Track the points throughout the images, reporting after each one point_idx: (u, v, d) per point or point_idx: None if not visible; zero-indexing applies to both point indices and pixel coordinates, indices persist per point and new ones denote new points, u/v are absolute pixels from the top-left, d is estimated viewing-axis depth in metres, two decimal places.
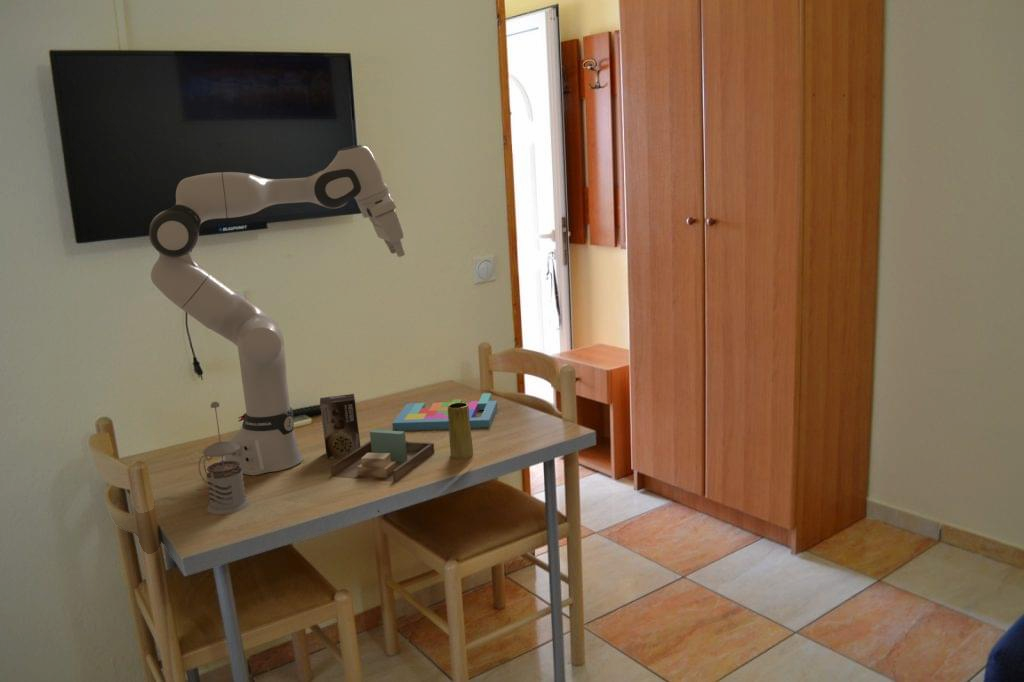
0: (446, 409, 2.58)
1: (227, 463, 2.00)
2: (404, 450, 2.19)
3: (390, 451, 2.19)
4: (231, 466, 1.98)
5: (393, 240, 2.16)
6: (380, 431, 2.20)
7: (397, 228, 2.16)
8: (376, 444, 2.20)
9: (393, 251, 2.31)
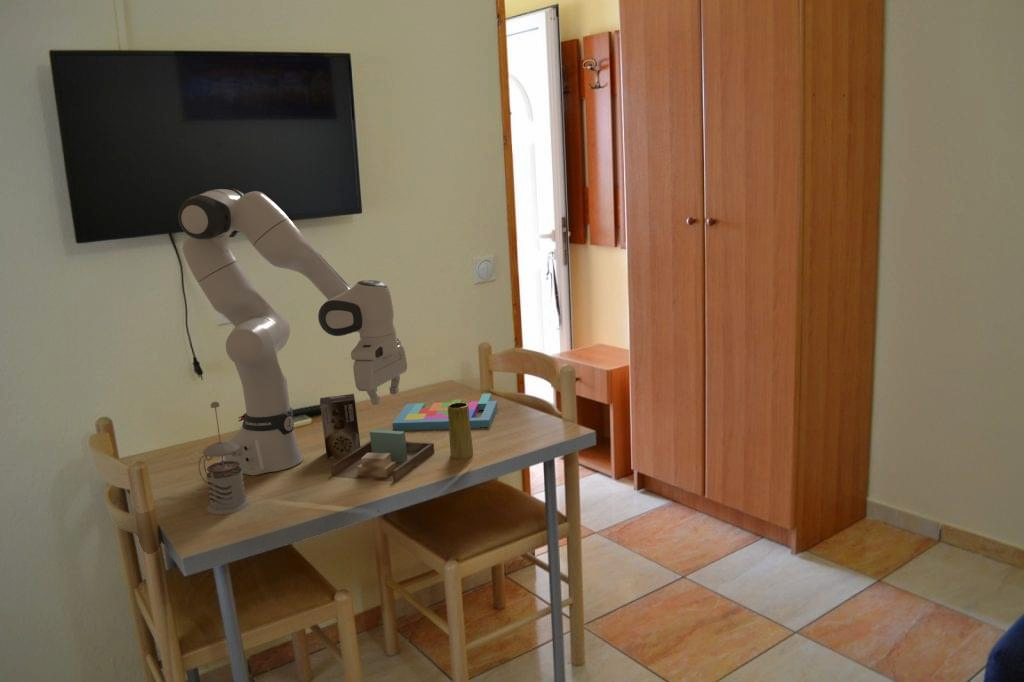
0: (446, 409, 2.58)
1: (227, 463, 2.00)
2: (404, 450, 2.19)
3: (390, 451, 2.19)
4: (231, 466, 1.98)
5: (359, 389, 2.08)
6: (380, 431, 2.20)
7: (365, 380, 2.07)
8: (376, 444, 2.20)
9: (392, 392, 2.21)
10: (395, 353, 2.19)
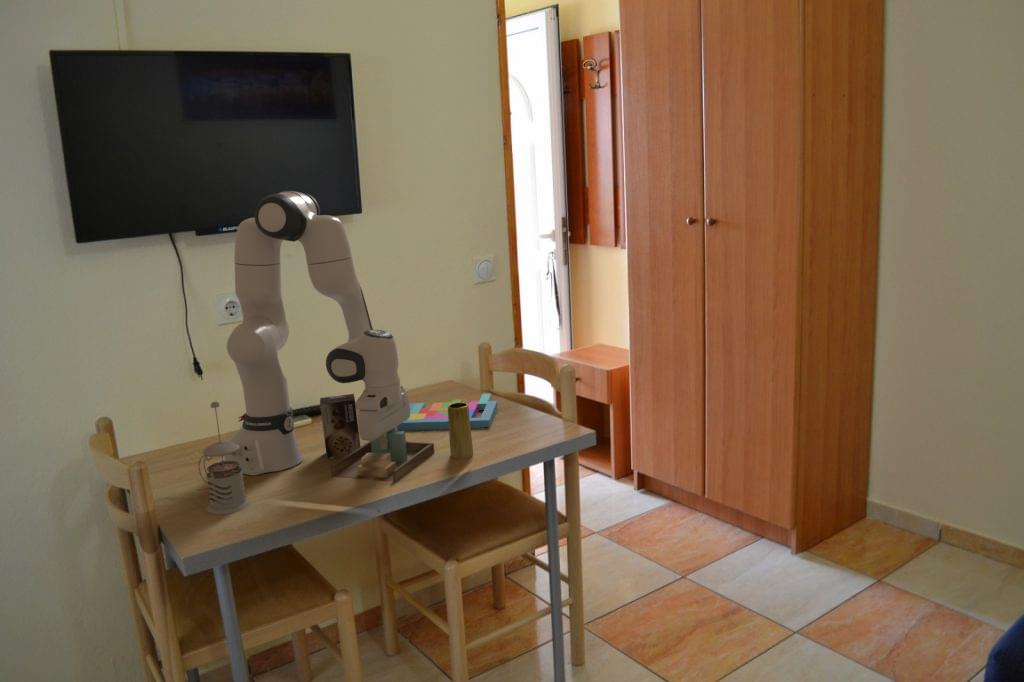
0: (446, 409, 2.58)
1: (227, 463, 2.00)
2: (404, 450, 2.19)
3: (390, 451, 2.19)
4: (231, 466, 1.98)
5: (363, 438, 2.11)
6: None
7: (369, 430, 2.09)
8: (376, 444, 2.20)
9: None
10: (399, 401, 2.21)
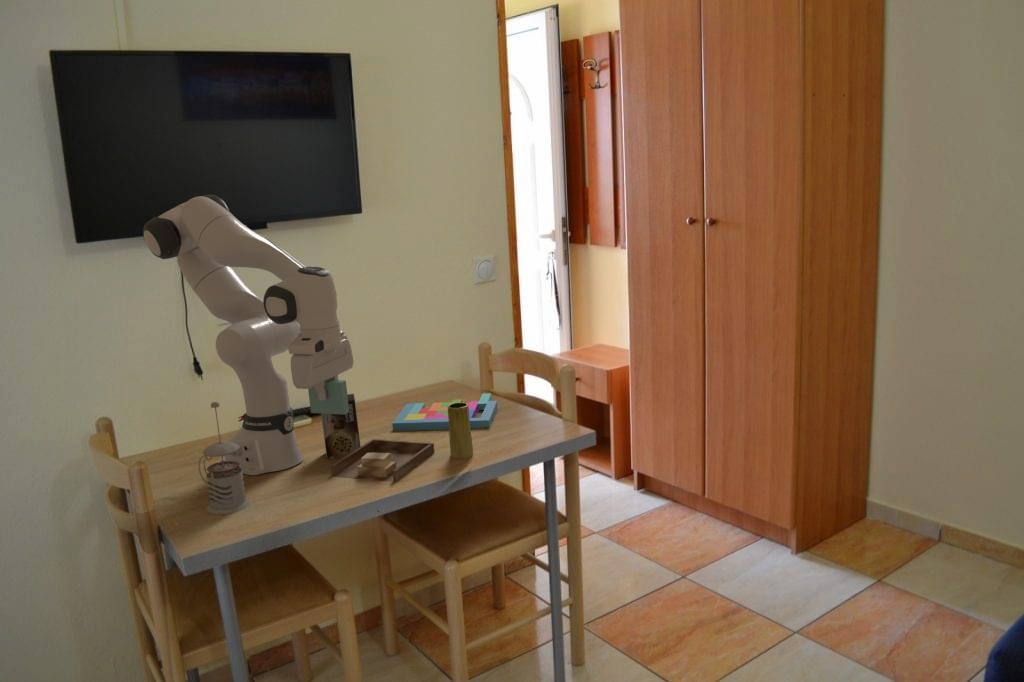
0: (446, 409, 2.58)
1: (227, 463, 2.00)
2: (345, 401, 1.97)
3: (329, 403, 1.98)
4: (231, 466, 1.98)
5: (296, 386, 1.89)
6: None
7: (303, 376, 1.88)
8: (315, 395, 1.99)
9: None
10: (339, 348, 2.00)
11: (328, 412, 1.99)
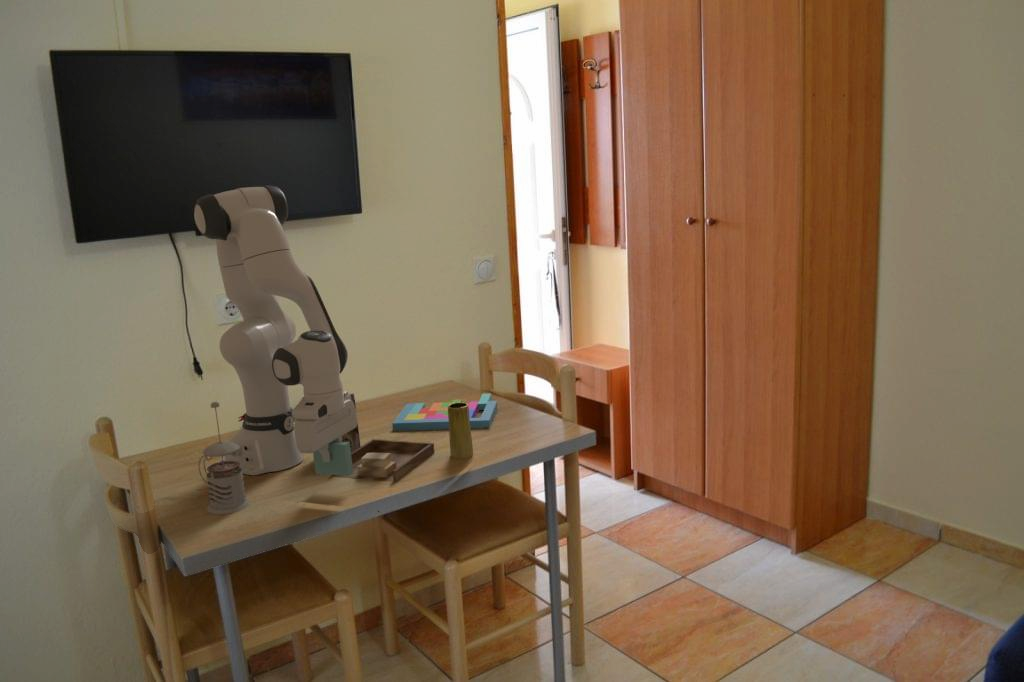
0: (446, 409, 2.58)
1: (227, 463, 2.00)
2: (349, 463, 1.99)
3: (334, 464, 2.00)
4: (231, 466, 1.98)
5: (300, 451, 1.92)
6: None
7: (306, 441, 1.90)
8: (319, 457, 2.01)
9: None
10: (343, 409, 2.02)
11: (332, 473, 2.01)
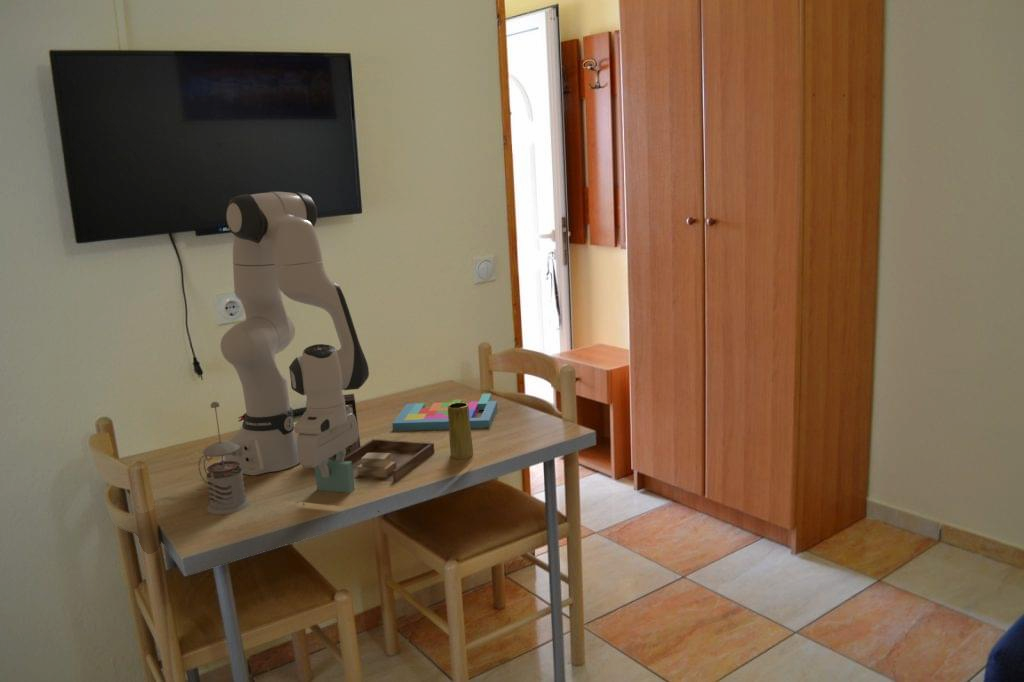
0: (446, 409, 2.58)
1: (227, 463, 2.00)
2: (351, 482, 2.01)
3: (335, 483, 2.01)
4: (231, 466, 1.98)
5: (302, 465, 1.92)
6: None
7: (309, 456, 1.91)
8: None
9: None
10: (345, 423, 2.03)
11: None
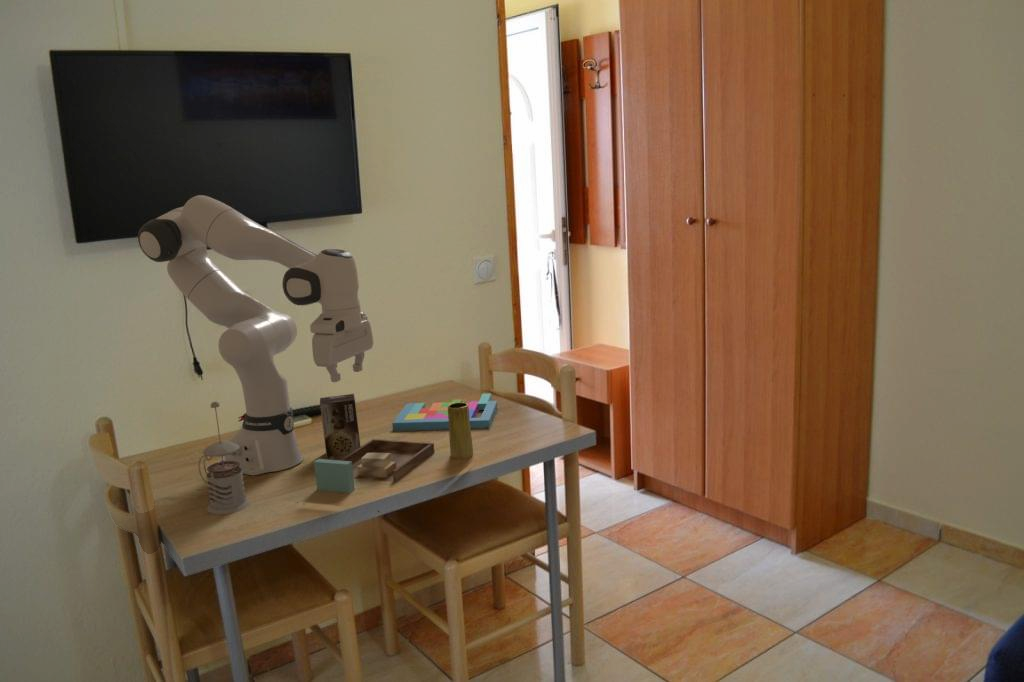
0: (446, 409, 2.58)
1: (227, 463, 2.00)
2: (351, 482, 2.01)
3: (335, 483, 2.01)
4: (231, 466, 1.98)
5: (317, 364, 1.96)
6: (325, 461, 2.02)
7: (323, 355, 1.94)
8: (321, 475, 2.02)
9: (355, 369, 2.09)
10: (360, 328, 2.06)
11: None
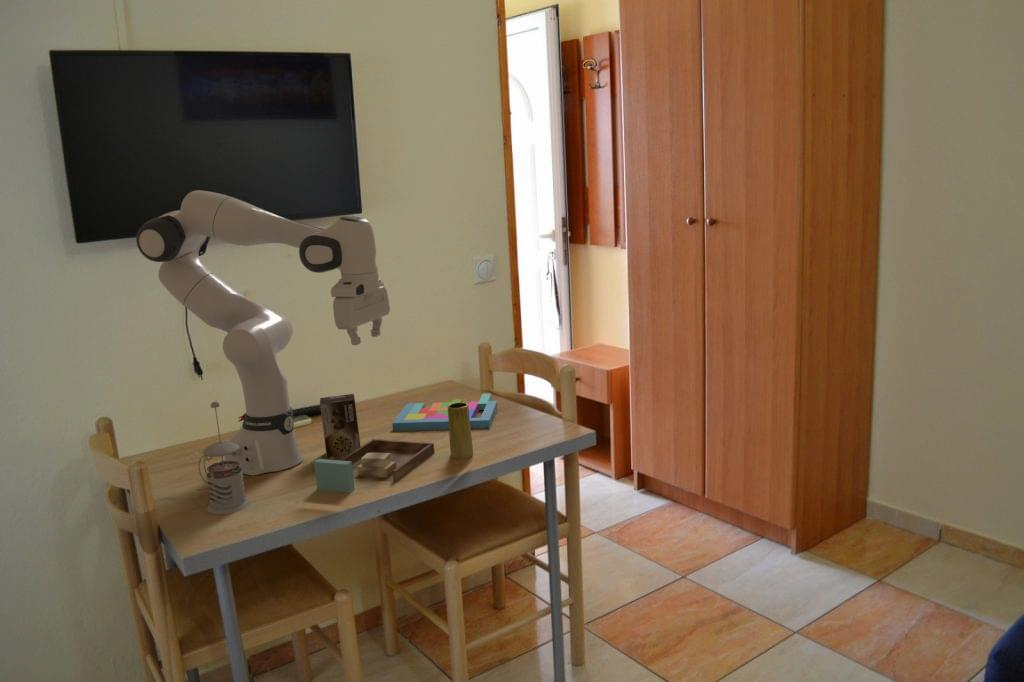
0: (446, 409, 2.58)
1: (227, 463, 2.00)
2: (351, 482, 2.01)
3: (335, 483, 2.01)
4: (231, 466, 1.98)
5: (338, 327, 2.01)
6: (325, 461, 2.02)
7: (345, 317, 2.00)
8: (321, 475, 2.02)
9: (373, 334, 2.15)
10: (377, 294, 2.12)
11: None
